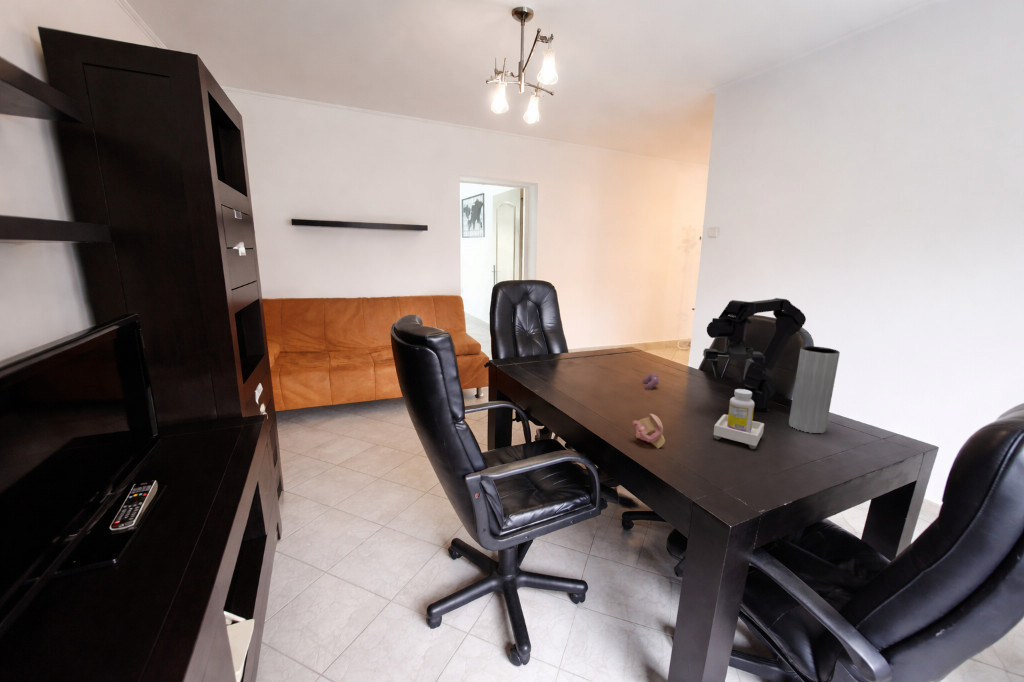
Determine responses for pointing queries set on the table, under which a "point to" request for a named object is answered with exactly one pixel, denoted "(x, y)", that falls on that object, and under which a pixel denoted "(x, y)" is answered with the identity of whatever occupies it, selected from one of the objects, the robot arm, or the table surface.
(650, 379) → the purple lumpy piece
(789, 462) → the table surface
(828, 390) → the vase
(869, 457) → the table surface
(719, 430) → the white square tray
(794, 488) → the table surface
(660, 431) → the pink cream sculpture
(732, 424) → the supplement bottle
